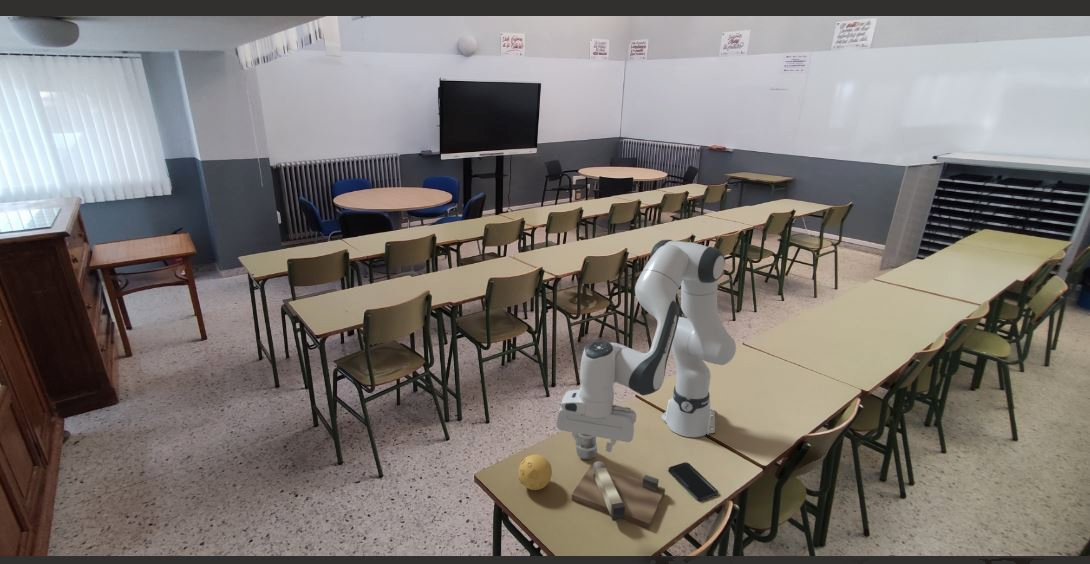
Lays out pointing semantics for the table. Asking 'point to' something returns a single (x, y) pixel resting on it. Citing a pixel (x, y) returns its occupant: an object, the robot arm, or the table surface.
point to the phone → (693, 481)
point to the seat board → (623, 496)
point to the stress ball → (534, 472)
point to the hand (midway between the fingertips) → (593, 447)
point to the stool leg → (608, 492)
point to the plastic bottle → (587, 447)
